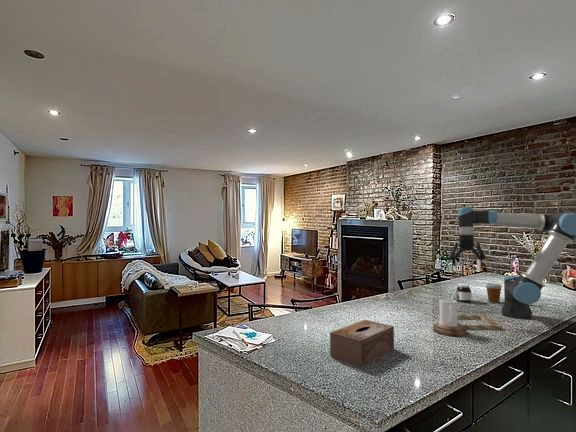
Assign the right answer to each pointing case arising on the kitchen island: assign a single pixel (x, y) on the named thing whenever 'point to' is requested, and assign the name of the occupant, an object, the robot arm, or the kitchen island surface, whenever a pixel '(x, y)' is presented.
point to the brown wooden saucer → (449, 330)
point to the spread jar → (462, 293)
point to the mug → (448, 312)
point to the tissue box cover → (361, 342)
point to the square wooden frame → (492, 326)
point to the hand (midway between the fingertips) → (467, 271)
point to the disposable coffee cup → (493, 292)
